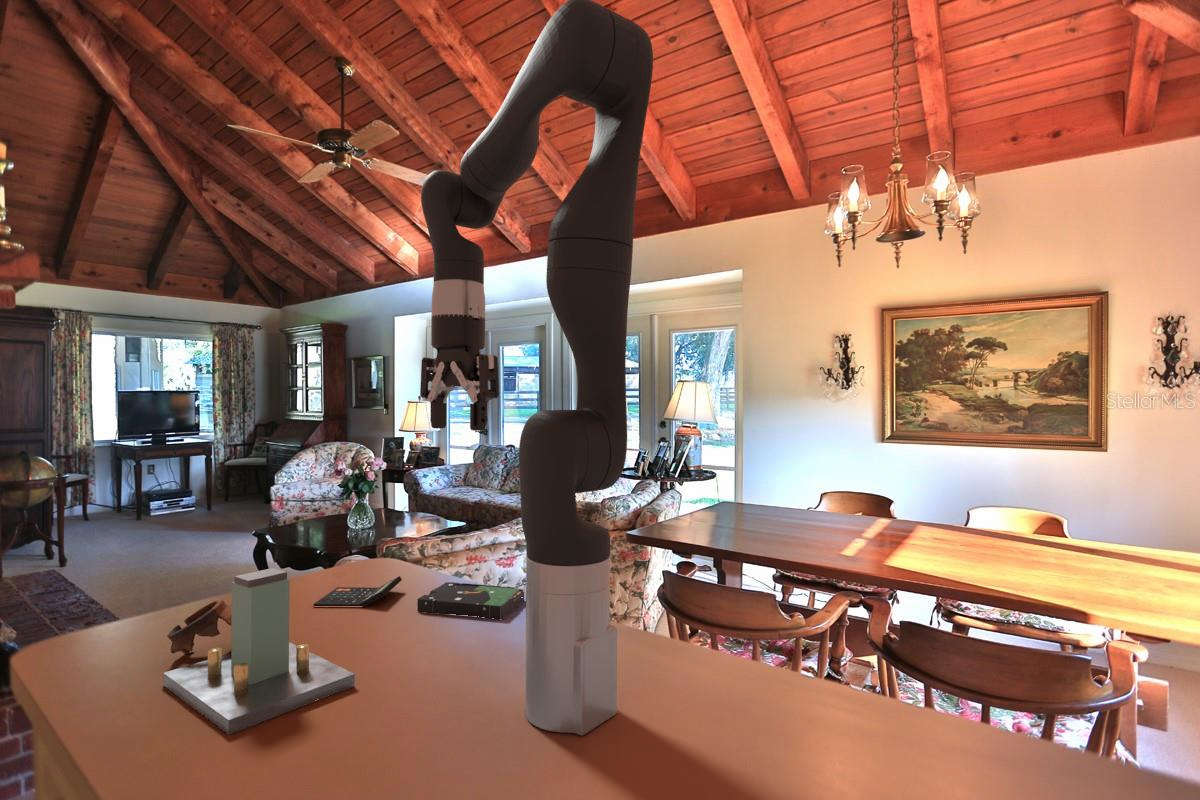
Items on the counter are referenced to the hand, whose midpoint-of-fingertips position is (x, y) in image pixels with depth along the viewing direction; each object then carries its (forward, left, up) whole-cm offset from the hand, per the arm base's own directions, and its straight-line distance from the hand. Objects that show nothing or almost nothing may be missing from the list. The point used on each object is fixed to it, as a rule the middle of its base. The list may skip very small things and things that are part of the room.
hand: (457, 429), depth 90 cm
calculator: (+28, -2, -31) cm, 42 cm away
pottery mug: (+21, +22, -30) cm, 43 cm away
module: (+7, +24, -29) cm, 38 cm away
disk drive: (+10, -12, -31) cm, 34 cm away
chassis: (+7, +24, -30) cm, 39 cm away
